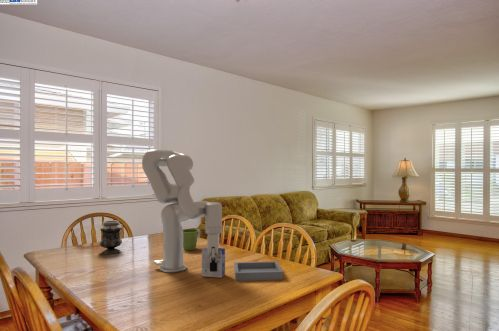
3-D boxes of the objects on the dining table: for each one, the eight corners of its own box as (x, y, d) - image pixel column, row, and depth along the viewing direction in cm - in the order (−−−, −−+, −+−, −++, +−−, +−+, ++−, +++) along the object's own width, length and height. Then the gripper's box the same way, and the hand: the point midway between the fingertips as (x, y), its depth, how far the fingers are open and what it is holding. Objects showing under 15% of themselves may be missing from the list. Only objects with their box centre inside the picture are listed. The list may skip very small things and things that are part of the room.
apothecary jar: (126, 251, 196) (126, 220, 196) (108, 256, 186) (108, 223, 186) (113, 248, 203) (113, 218, 203) (95, 253, 193) (95, 221, 193)
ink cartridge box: (225, 274, 154) (225, 242, 154) (222, 278, 149) (222, 245, 149) (205, 272, 156) (205, 241, 156) (201, 276, 151) (201, 244, 151)
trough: (235, 281, 145) (235, 273, 145) (234, 269, 161) (234, 262, 161) (283, 279, 147) (283, 271, 147) (277, 268, 163) (277, 261, 163)
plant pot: (189, 245, 209) (189, 227, 209) (203, 248, 202) (203, 229, 202) (175, 249, 200) (175, 230, 200) (189, 252, 193) (189, 233, 193)
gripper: (206, 226, 161) (206, 263, 161) (204, 233, 144) (204, 275, 144) (222, 226, 161) (221, 263, 162) (221, 233, 144) (221, 274, 144)
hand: (213, 268), depth 153 cm, fingers closed on ink cartridge box, 6 cm apart
